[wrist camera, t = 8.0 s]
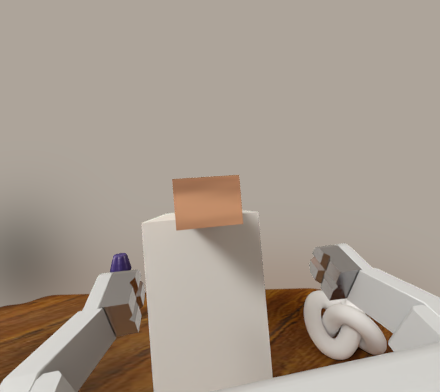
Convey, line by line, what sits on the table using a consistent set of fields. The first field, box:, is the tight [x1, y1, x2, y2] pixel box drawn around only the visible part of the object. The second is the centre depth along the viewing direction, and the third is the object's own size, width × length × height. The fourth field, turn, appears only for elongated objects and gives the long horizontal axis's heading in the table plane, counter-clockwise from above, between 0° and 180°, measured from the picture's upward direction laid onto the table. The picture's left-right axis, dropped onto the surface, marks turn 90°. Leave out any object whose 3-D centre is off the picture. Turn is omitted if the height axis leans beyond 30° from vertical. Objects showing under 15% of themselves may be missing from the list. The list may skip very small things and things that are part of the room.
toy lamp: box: [110, 253, 131, 273], centre depth 50 cm, size 5×5×17 cm
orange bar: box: [172, 175, 243, 231], centre depth 23 cm, size 22×4×3 cm, turn 8°
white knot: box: [304, 291, 387, 360], centre depth 37 cm, size 11×12×9 cm
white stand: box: [142, 210, 273, 392], centre depth 31 cm, size 20×12×26 cm, turn 8°
